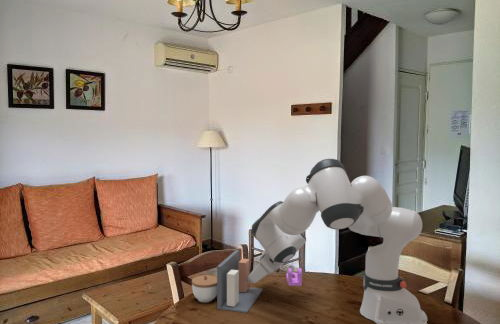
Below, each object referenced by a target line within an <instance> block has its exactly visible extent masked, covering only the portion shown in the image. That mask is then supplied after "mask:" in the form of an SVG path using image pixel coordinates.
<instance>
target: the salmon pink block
mask: <svg viewBox="0 0 500 324" xmlns="http://www.w3.org/2000/svg"><path fill="white" fill-rule="evenodd" d="M249 275H250V259H249V258H241V259H240V261H239V292H246V291H247V290H248V289H249V287H250V282H248V280H247V278H248V276H249Z"/></svg>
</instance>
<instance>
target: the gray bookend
mask: <svg viewBox="0 0 500 324" xmlns="http://www.w3.org/2000/svg"><path fill="white" fill-rule="evenodd" d="M240 255H241V254H240V250H239V249H235V250H234V251H233V252H232V253H231V254H230V255H228V256H227V257H226V258H225V259H224V260H222V261H221V262H219V264H218V265H216V277H217V296H216V297H217V298H216V299H217V301H216V304H217V306H216V309H217V310H220V311H221V310H222V311H230V312H238V313H245V314H247V313H248V312H249V311H250V309H251V308H252V306H253V305H254V303H255V302H256V300H257V299H258V298H259V296H260V295H261V293H262V292H263V288H258V287H250V286H249V289H248V290H247V291H246V292H239V302H238V303H237V304H236V306H235V307H233V306H227V273H228V272H229V271H230V270H239V261H240V260H241V259H240V257H241V256H240Z"/></svg>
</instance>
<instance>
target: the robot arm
mask: <svg viewBox="0 0 500 324" xmlns="http://www.w3.org/2000/svg"><path fill="white" fill-rule="evenodd" d="M305 181H306V184H307V185H306V186H300V187H297V188H295V189H293V190H292V191H291V192H290V193H289V194H288V195H287V196H286V197H285V199H284V200H283V201H282V200H280V201H279V200H278V201H276V202H275V203H273V204H272V205H270V206H269V207H268V208H267V209H266V210H265V212H263V214H262V215H260V217H259V218H258V219H256V220H255V221H254V223H253V224H252V225H251V230H250V232H251V236H253V237H254V238H255V240H257V242H259V244H260V245H261V247H262V248H263V249H264V250H263V251H262V253H261V258H260V259H259V262H258V263H257V265H256V266H255V268H253V270H251V272H249V276H248V278H247V280H248V282H249V283H252V284H256V283H258V282H260V281H261V280H262V279H264V278H265V277H266V276H267V275H269V274H272V273H274V271H278V270H279V268H281V267H282V266H283V265H284V264H285V263H287V262H289V261H290V260H292V259H293V257H295V256H296V254H297V252H299V250H300V249H301V248H303V246H304V245H305V244H306V242H307V238H306V235H305V234H304V233H305V231H307V230H308V229H309V227H310V226H311V225H312V223H313V221H314V219H315V217H316V215H317V213H318V212H320V217H321V220H322V222H323V223H324V224H323V225H325V227H326V228H329V229H331V230H343V229H347V228H348V229H349V230H350V231H352V232H354V233H358V234H360V235H362V236H363V235H364V236H369V237H370V236H371V237H377V238H378V237H379V238H383V242H382V243H380V244H377V245H375V246H372V247H370V248H369V249H368V250H367V251H366V253H365V271H364V274H363V290H364V292H363V297H362V302H361V306H360V309H359V313H360V314H361V315H362V316H363V317H364V318H366V319H369V320H370V321H373V322H374V323H376V324H428V323H427V321H428V315H427V314H426V312H425V311H424V310H422V308H421V305H420V304H421V303H420V301H419V300H418V298H417V297H416V296H415V295H414V294H412V293H411V292H410V291H409V290H408V289H406V288H407V283H406V281H405V280H404V279H403V277H402V276H401V275H399V264H400V258H401V254H402V251H403V249H405V247H406V246H407V245H408V244H410V242H412V241H413V240H416V239H417V238H418V237H419V236H420V235H421V233H422V230H423V220H422V218H421V215H420V214H419V213H418V212H417V211H416V210H413V209H408V208H405V207H398V206H397V207H396V206H393V203H392V201H391V199H390V196H389V195H388V193H387V191H386V190H385V188H384V187H383V185H382V184H381V182H379V181H378V180H377V179H376V178H374V177H372V176H370V175H361V176H358V177H356V178H354V179H353V180H352V181H351V182H350V179H349V176H348V175H347V169H346V168H345V166H344V164H343V163H342V161H340V160H339V159H335V158H325V159H322V160H320V161H318V162H317V163H315V165H314V166H313V167H312V168H311V170H310V172H309V174H308V175H307V176H306V178H305Z"/></svg>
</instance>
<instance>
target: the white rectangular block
mask: <svg viewBox="0 0 500 324" xmlns="http://www.w3.org/2000/svg"><path fill="white" fill-rule="evenodd" d="M238 302H239V270H230V271H229V272H228V273H227V306H233V307H235V306H236V304H237V303H238Z"/></svg>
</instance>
